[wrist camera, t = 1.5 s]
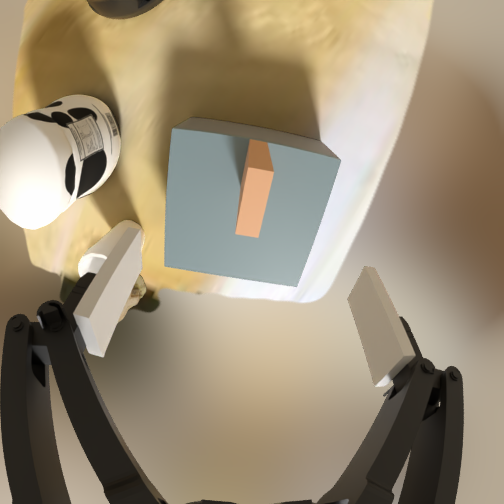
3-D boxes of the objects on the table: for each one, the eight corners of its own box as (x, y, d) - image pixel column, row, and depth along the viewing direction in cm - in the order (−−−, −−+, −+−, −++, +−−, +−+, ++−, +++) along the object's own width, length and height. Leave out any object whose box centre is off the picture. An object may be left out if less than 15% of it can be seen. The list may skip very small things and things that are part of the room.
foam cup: (162, 241, 50) (140, 287, 39) (131, 261, 53) (107, 306, 42) (130, 203, 46) (98, 243, 35) (100, 227, 48) (69, 268, 38)
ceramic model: (105, 255, 52) (85, 286, 44) (151, 278, 56) (137, 312, 47) (96, 295, 59) (80, 325, 51) (135, 314, 62) (123, 346, 54)
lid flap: (174, 127, 29) (135, 152, 19) (338, 157, 31) (376, 197, 21) (166, 262, 40) (143, 322, 30) (296, 282, 42) (306, 345, 33)
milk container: (41, 159, 39) (-21, 201, 25) (71, 78, 31) (-4, 92, 17) (105, 201, 45) (53, 258, 30) (146, 118, 37) (85, 146, 22)
